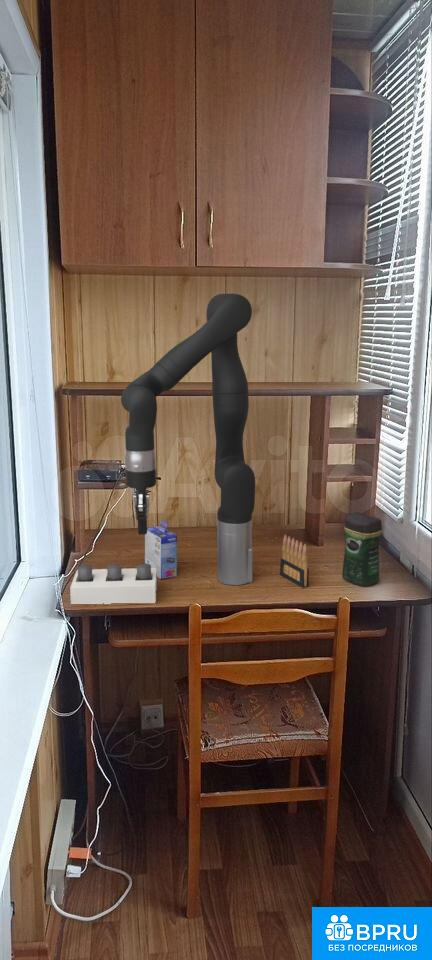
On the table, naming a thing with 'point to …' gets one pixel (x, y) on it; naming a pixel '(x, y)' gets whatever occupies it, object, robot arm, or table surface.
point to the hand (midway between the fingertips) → (142, 533)
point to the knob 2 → (144, 571)
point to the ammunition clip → (294, 562)
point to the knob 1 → (85, 573)
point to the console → (114, 588)
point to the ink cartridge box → (161, 551)
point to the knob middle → (114, 572)
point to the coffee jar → (361, 549)
